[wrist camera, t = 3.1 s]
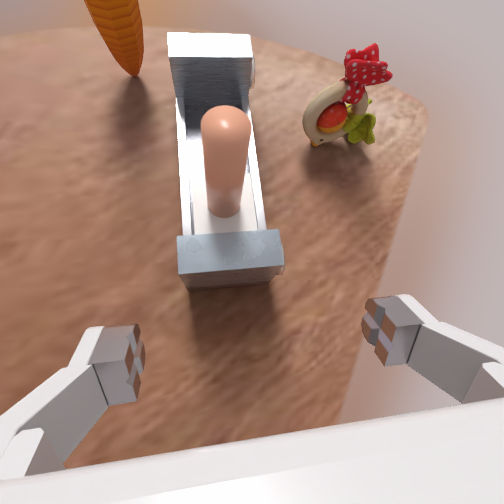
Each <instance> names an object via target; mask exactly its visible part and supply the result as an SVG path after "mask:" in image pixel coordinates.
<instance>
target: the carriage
mask: <svg viewBox="0 0 504 504" xmlns="http://www.w3.org/2000/svg"><path fill="white" fill-rule="evenodd" d="M251 131H252V125H251V121H250V119H249V117H248V116H247V115H246V114H245V113H244V112H243V111H242V110H240V109H238V108H236V107H233V106H227V105H223V106H217V107H214V108H212V109H210V110H208V111H207V112H206V113H205V114H204V116H203V118H202V120H201V135H202V147H203V158H204V170H205V175H191V183H192V199H193V215H194V230H195V235H198V234H213V233H227V232H241V231H256V230H258V228H257V221H256V213H255V205H254V197H253V190H252V182H251V174H250V173H245V170H246V164H247V157H248V151H249V144H250V138H251Z"/></svg>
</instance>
